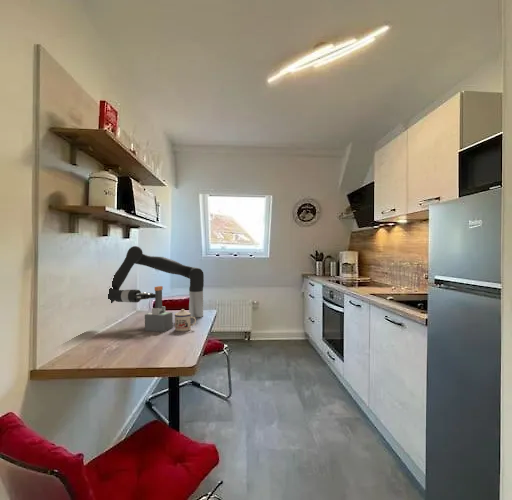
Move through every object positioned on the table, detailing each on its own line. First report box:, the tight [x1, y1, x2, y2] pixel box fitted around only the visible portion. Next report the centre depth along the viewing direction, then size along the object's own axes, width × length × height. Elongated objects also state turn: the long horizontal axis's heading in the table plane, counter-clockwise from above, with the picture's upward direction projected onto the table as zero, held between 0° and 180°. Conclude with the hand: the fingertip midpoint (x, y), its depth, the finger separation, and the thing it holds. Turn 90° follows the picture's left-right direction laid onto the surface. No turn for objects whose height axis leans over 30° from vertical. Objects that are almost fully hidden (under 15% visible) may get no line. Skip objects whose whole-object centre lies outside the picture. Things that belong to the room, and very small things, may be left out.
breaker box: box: [144, 305, 174, 333], centre depth 205 cm, size 12×10×13 cm
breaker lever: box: [154, 285, 164, 312], centre depth 205 cm, size 2×5×15 cm, turn 166°
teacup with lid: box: [174, 308, 197, 332], centre depth 203 cm, size 12×9×12 cm
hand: (157, 296), depth 205 cm, fingers closed
